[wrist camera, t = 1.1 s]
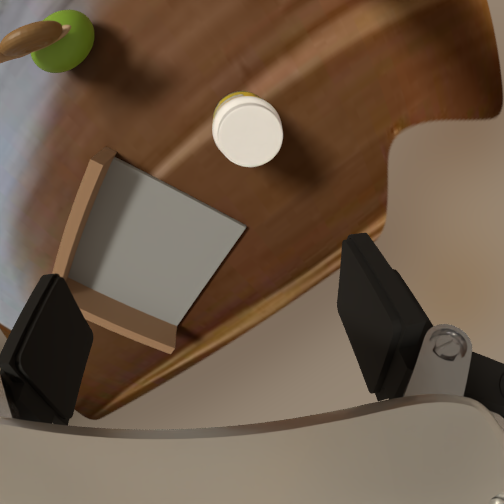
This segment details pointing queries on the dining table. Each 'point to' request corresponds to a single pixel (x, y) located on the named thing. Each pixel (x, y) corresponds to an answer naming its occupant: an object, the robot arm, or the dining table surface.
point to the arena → (139, 250)
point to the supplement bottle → (247, 129)
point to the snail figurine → (51, 41)
